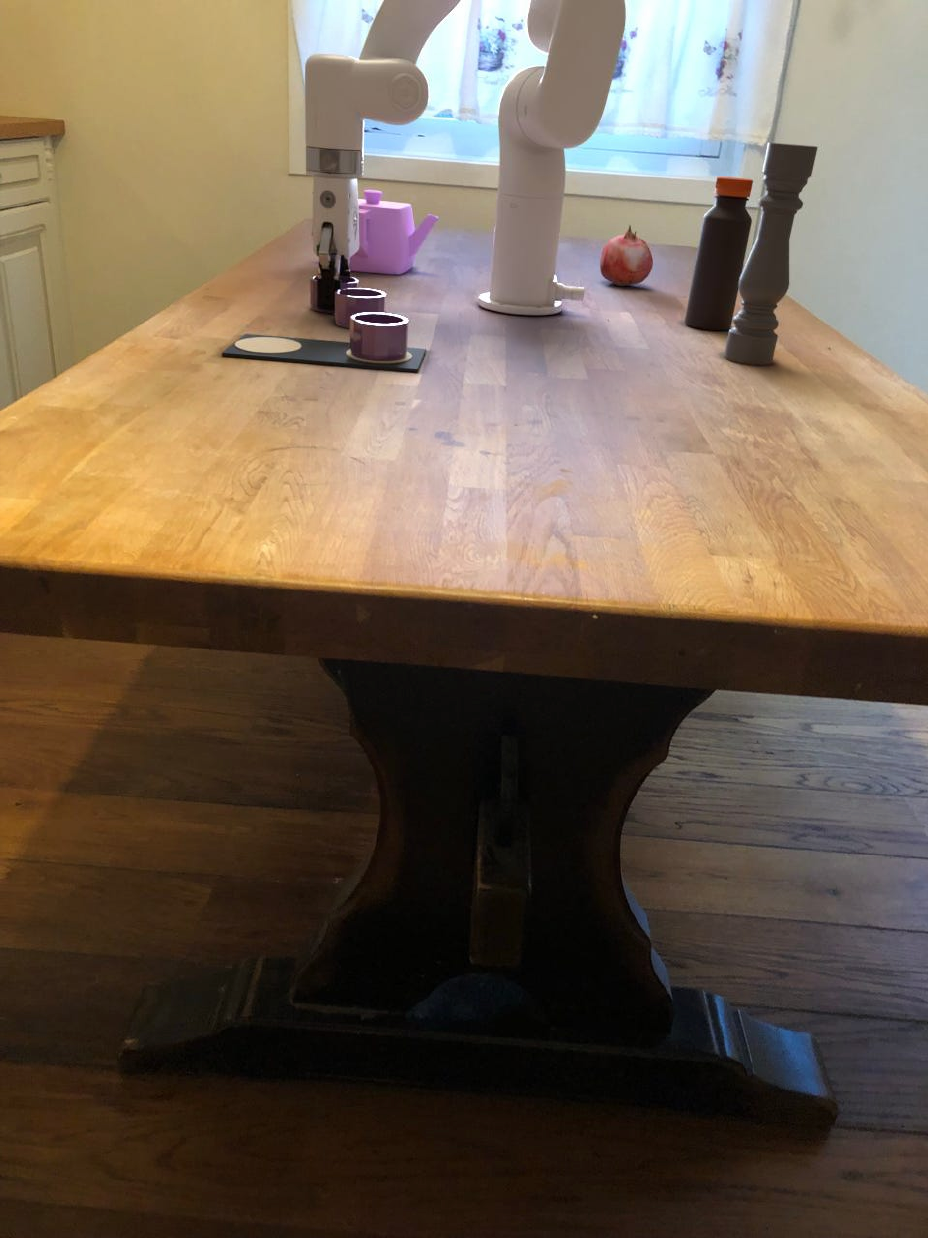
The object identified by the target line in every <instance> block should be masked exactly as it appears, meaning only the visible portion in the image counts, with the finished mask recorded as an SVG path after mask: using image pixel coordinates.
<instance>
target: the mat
mask: <svg viewBox="0 0 928 1238" xmlns="http://www.w3.org/2000/svg"><path fill="white" fill-rule="evenodd" d="M426 353H427V348H420V347H409V346H407V355H406V357H405V358H403V359H400V360H395V361H372V360H365V359H360V358H357V357H354V356H353V355H351V353H350V341H336V340H327V339H326V340H324V339H313V338H302V337H292V336H291V337H289V336H278V335H277V336H276V335H266V334H254V333H253V334H252V333H245V334H244V335H242V336H241V337H240V338H238V339H237V340H236V341H235V342H234V343H232V344H231V345H230V346H229V347H228V348H226V349H225V350H224V351H222V352H221V356H222V357H228V358H241V359H251V360H261V361H262V360H263V361H274V362H285V363H286V362H287V363H297V364H298V363H300V364H308V365H309V364H310V365H321V366H322V365H323V366H332V367H333V366H335V367H346V368H358V369H369V370H382V371H392V372H393V371H394V372H405V373H415V374H416V373H417V374H418V373H419V370H420V368H421V365H422V363H423V360H424V358H425V355H426Z"/></svg>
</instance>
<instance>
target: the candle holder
mask: <svg viewBox="0 0 928 1238" xmlns="http://www.w3.org/2000/svg"><path fill="white" fill-rule="evenodd" d="M818 148H819V146H815V145H807V144H806V145H804V144H795V143H794V144H792V143H781V142H767V146H766V151H765V155H764V161H763V165H762V171H761V172H762V173H763V178H762V180H763V183H764V189H765V194H764V195H763V196H761V197H760V198H759V199H758V203H757V204H758V206H759V207H760V211H761V216H760V220H759V225H758V231H757V236H756V238H755V241H754V243H753V246H752V248H751V250H750V253H749V255H748V257H747V260H746V262H745V263H744V264H745V265H744V266H743V268H742V273H741V276H740V278H739V283H738V292H739V296H740V298H741V299H742V301H741V305H742V308H741V309H740V310H739V311H738V312H737V314H736V315H735V316H733V318H732V324H733V325H734V326H733V327H730V328H729V329H728V332H727V338H726V343H725V348H724V351H723V352H724V353H723V357H724V358H725V359H726V360H729V361H731V362H735V363H738V364H744V365H752V366H766V365H771V364H772V363H773V361H774V355H775V352H776V348H777V343H778V338H779V335H778V334H777V333H776V332H775V330H777V328H778V327H779V325H780V323H779V321H778V320H777V315H776V313H775V310H776V309H777V308H778V303H779V302H780V301H782V300H783V298H784V297H785V296H786V294H787V292H788V290H789V287H790V239H791V234H792V229H793V225H794V221H795V215H796V214H798V211H800V210H802V208H803V206H804V202H803V201H802V199H801V198H800V193H802V192H803V189H804V188H805V187H806V186H807V185H808V181H809V178H811V177H812V176H813V175H812V174H813V170H814V167H815V160H816V156H817V153H818Z"/></svg>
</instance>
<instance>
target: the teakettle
mask: <svg viewBox="0 0 928 1238" xmlns="http://www.w3.org/2000/svg"><path fill="white" fill-rule="evenodd" d="M362 193H363V196H364V199H361V198H358V203H359V250H358V251H357V252H356V253H355V254H354V255H353V256H351V257H350V270H349V271H351V272H361V273H371V274H384V275H402V274H404V273H406V272H408V271H409V270H410V269H412V268H413V266H414V262H415V260H416V254H417V253H418V251H419V250H420V248H421V247H422V245H423V244H424V242H425V240H426V239H427V238H428V236H429V234H430V233H431V232H432V230H433V228H434V227H435V225H436V223H437V222H438V220H439V216H437V215H433V214H431V213H428V214H427V215H426V217H425V218H424V219H423V221H421V223H420V224H419V225H418V226H417V227H416V226H415V220H414V213H413V208H412V204H410V203H403V202H395V201H385V200H381V199H382V196H383V192H382V191H381V190H375V189H365V190H363V192H362ZM415 227H416V228H415ZM311 237H313V223H312V226H311Z"/></svg>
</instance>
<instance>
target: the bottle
mask: <svg viewBox="0 0 928 1238" xmlns="http://www.w3.org/2000/svg"><path fill="white" fill-rule="evenodd" d="M753 183H754V180H753V179H752V178H751V179H750V178H744V177H735V176H717V177H716V182H715V188H714V197H713V198H715V201H714V205H713V206H712V207H711V208H710V209H709V210H708V211H707V212H705V213H704V215H703V217H702V223H701V228H700V232H699V233H700V234H699V240H698V243H697V244H698V245H697V250H696V257H695V262H694V267H693V273H692V277H691V278H692V279H691V285H690V289H689V294H688V295H689V296H688V301H687V306H686V307H687V308H686V312H685V319H684V323H685V324H686V325H687V326H689V327H692V328H695V329H700V330H704V331H705V330H706V331H726V330H730V329H731V328H732V324H733V318H734V313H735V309H736V308H735V307H736V303H737V297H738V292H739V288H738V283H739V278H740V276H741V274H742V271H743V269H744V264H745V258H746V253H747V248H748V243H749V238H750V233H751V227H752V224H753V219H752V216H751V214H750V213H749V211H748V210H747V208H746V206H747V202H749V200H750V197H751V193H752V188H753Z"/></svg>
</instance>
